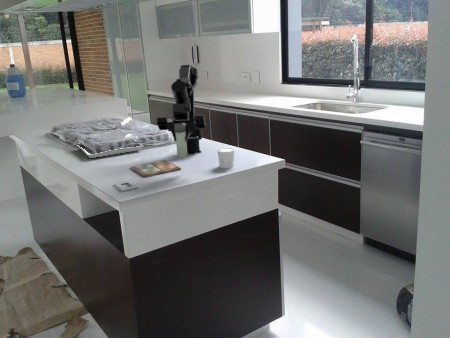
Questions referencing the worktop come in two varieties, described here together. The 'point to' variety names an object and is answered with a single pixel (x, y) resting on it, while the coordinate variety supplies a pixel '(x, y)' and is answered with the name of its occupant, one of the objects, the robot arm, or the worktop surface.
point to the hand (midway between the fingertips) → (180, 140)
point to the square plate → (112, 151)
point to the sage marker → (181, 139)
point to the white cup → (226, 157)
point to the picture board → (155, 168)
